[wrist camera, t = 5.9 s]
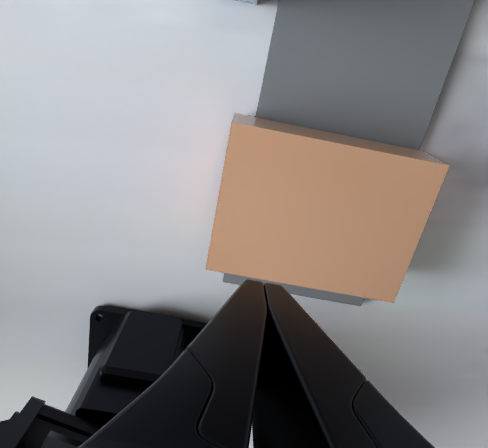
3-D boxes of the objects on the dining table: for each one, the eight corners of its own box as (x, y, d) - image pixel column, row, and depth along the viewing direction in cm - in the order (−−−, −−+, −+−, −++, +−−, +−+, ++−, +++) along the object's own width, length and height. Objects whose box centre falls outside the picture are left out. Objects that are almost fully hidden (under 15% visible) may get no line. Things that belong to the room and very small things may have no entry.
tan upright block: (211, 242, 18) (376, 272, 19) (205, 269, 16) (393, 302, 17) (234, 112, 16) (421, 150, 17) (231, 122, 14) (449, 165, 14)
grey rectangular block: (359, 301, 20) (361, 306, 20) (223, 277, 20) (222, 281, 19) (538, -186, 13) (546, -193, 12) (327, -241, 12) (329, -250, 12)
